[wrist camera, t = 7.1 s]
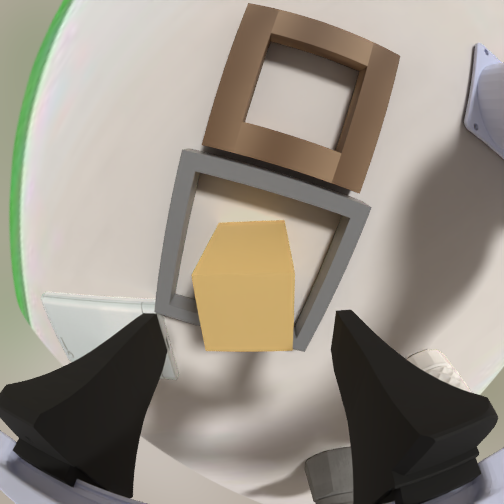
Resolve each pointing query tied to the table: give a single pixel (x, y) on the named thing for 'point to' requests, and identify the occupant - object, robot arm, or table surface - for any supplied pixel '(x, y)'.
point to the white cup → (438, 367)
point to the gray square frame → (273, 182)
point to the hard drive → (99, 322)
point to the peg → (246, 288)
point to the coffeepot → (331, 476)
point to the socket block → (286, 146)
